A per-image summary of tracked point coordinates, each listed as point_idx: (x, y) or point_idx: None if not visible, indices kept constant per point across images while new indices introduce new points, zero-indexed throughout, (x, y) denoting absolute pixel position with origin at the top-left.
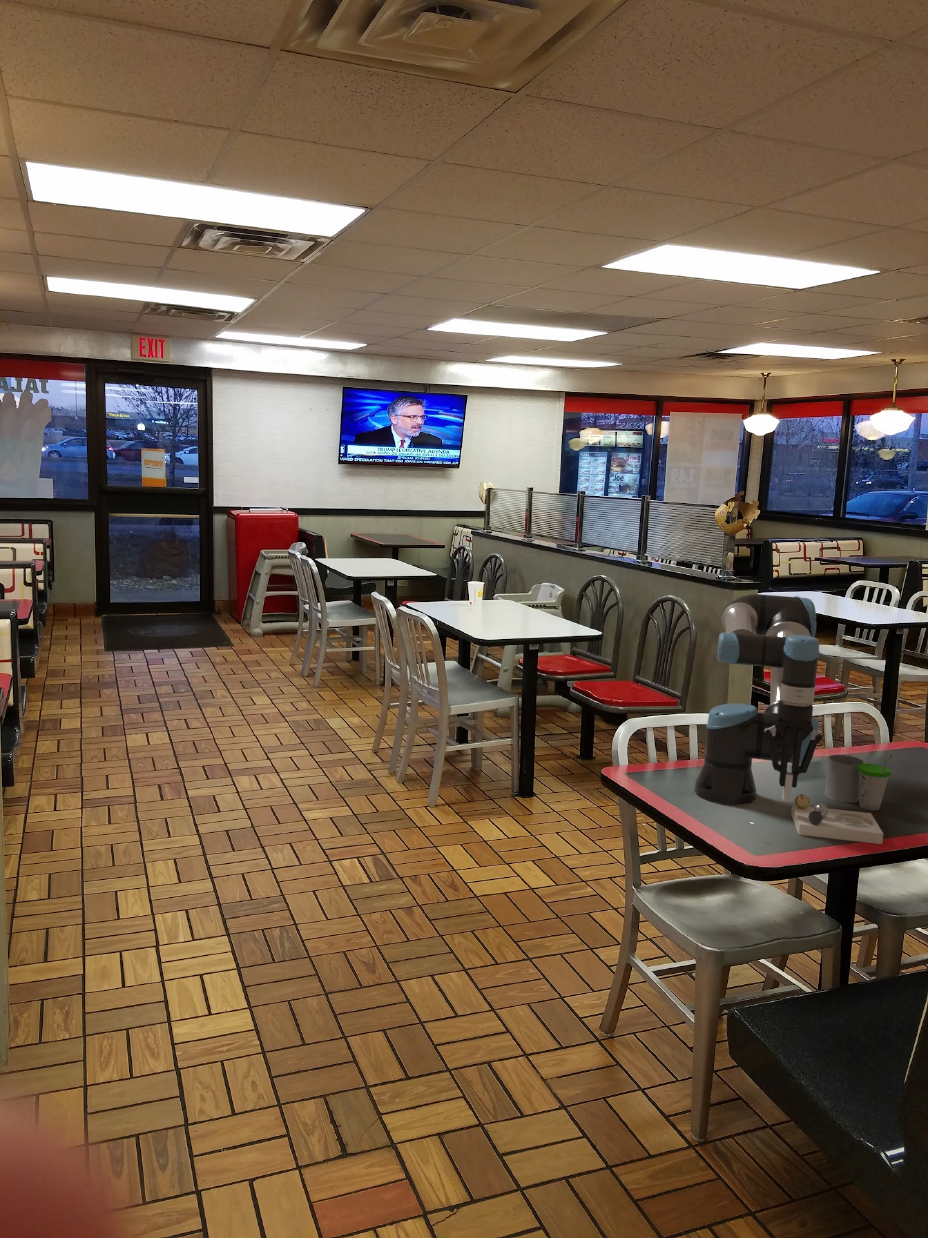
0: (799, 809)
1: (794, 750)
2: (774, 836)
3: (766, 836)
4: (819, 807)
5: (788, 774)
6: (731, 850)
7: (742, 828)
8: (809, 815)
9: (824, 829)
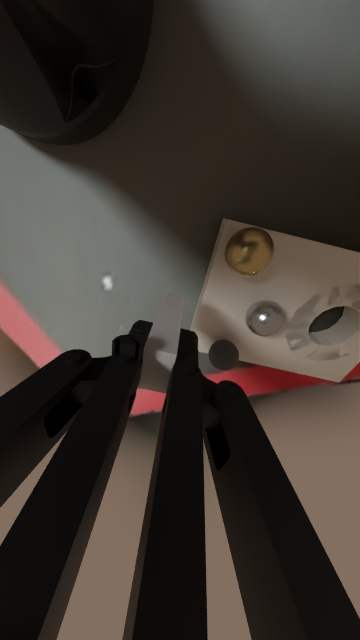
0: None
1: (136, 573)
2: None
3: None
4: (256, 333)
5: (148, 387)
6: None
7: (87, 312)
8: (209, 357)
9: None
